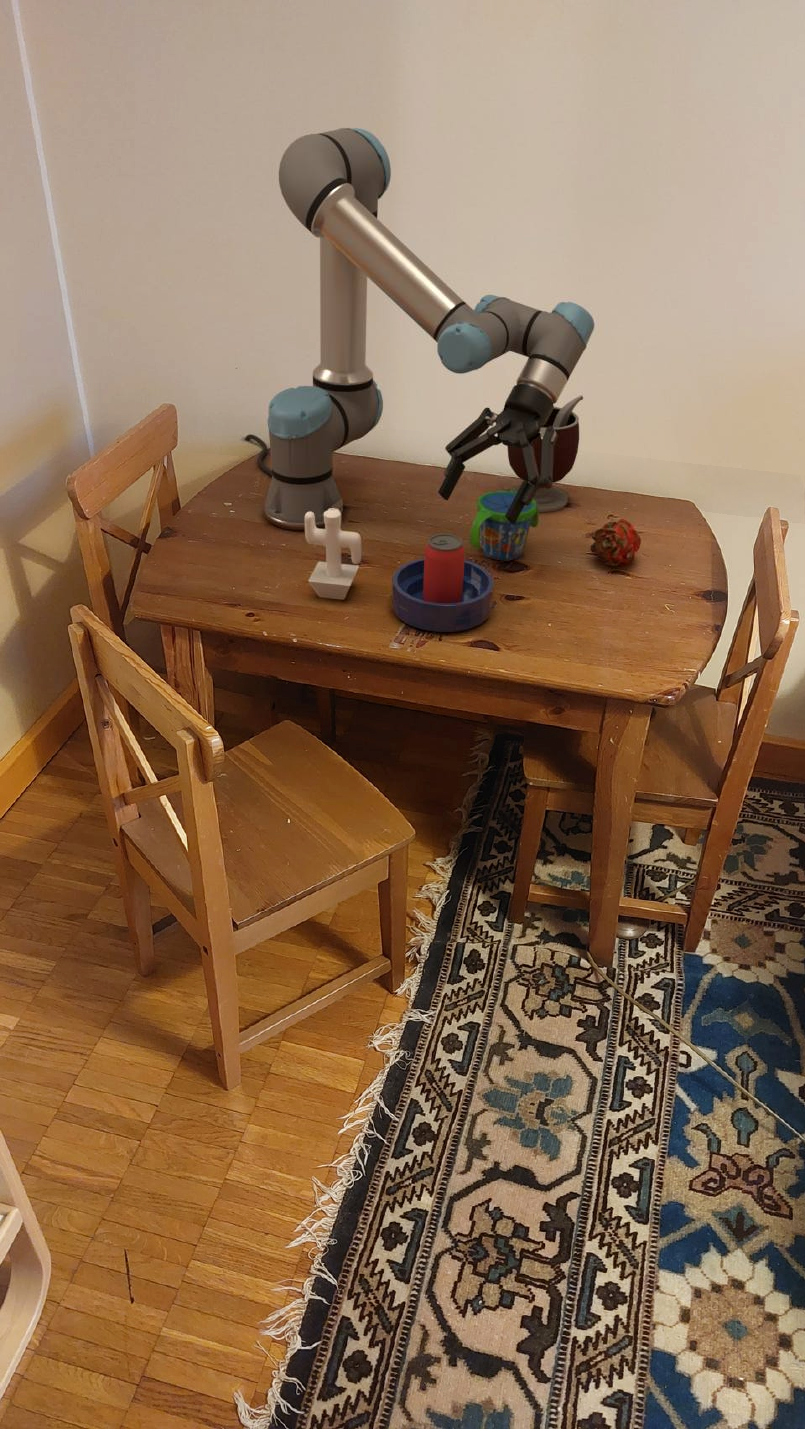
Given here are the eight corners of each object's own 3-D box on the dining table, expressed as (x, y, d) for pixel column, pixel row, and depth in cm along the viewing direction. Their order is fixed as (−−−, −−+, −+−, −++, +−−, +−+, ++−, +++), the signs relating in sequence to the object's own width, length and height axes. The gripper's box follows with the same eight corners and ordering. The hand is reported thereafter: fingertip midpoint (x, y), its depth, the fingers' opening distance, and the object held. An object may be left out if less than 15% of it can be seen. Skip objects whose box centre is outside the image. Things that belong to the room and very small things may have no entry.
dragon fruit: (603, 584, 181) (609, 563, 191) (647, 563, 177) (651, 543, 187) (580, 543, 178) (588, 524, 189) (624, 521, 175) (630, 503, 185)
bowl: (390, 585, 176) (390, 557, 172) (484, 584, 177) (487, 556, 173) (394, 635, 162) (395, 606, 159) (497, 634, 163) (499, 605, 160)
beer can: (420, 596, 171) (423, 532, 164) (459, 595, 172) (463, 531, 165) (424, 616, 166) (427, 551, 159) (464, 615, 167) (468, 550, 160)
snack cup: (517, 532, 193) (522, 482, 187) (553, 554, 186) (559, 503, 180) (451, 552, 186) (454, 500, 180) (486, 575, 179) (490, 523, 173)
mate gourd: (529, 519, 198) (539, 419, 186) (489, 493, 208) (497, 396, 196) (591, 503, 205) (605, 406, 193) (550, 479, 214) (560, 385, 202)
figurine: (356, 605, 170) (356, 524, 161) (302, 599, 171) (298, 518, 162) (365, 585, 176) (365, 505, 167) (313, 579, 177) (310, 500, 168)
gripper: (606, 424, 163) (546, 540, 163) (481, 389, 176) (425, 496, 175) (594, 400, 157) (531, 520, 156) (465, 365, 169) (406, 477, 169)
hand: (475, 508), depth 166 cm, fingers open, 13 cm apart
